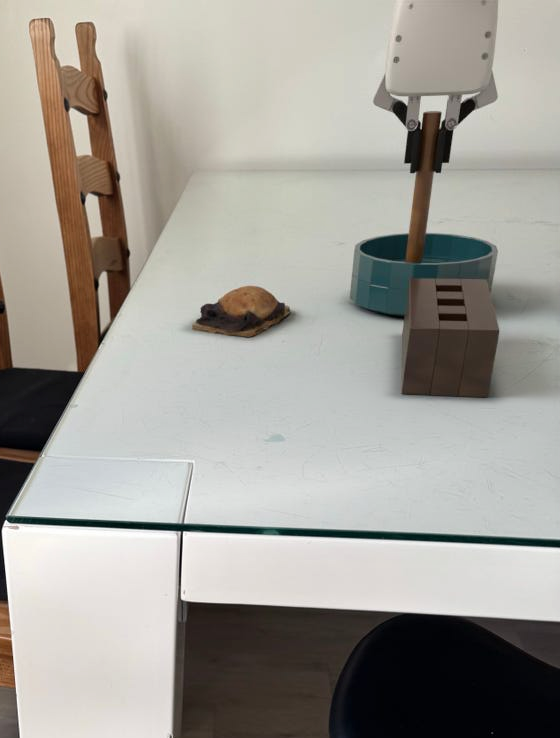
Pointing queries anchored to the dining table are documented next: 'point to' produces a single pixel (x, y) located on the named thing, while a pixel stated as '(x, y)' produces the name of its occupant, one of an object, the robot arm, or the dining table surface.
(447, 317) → the holder
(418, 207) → the stick
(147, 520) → the dining table surface
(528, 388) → the dining table surface
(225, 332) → the turtle figurine
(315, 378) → the dining table surface
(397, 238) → the bowl
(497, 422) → the dining table surface
